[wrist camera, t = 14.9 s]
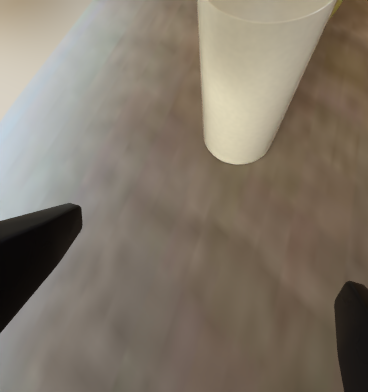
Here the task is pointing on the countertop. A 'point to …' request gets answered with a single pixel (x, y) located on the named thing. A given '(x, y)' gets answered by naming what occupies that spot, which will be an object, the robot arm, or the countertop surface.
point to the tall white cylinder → (253, 69)
